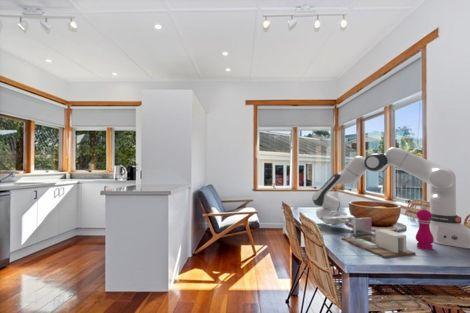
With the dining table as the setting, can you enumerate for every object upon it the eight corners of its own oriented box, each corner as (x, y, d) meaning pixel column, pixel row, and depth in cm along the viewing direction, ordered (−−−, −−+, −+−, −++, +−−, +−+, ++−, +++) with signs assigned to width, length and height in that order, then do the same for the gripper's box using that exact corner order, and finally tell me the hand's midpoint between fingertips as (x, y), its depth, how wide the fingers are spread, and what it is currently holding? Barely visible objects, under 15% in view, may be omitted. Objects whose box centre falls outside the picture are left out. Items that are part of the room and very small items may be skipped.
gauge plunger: (347, 237, 144) (347, 218, 144) (369, 235, 147) (369, 217, 147) (374, 248, 125) (373, 227, 125) (399, 246, 128) (398, 225, 128)
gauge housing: (375, 245, 132) (375, 229, 132) (386, 244, 133) (385, 229, 133) (395, 252, 120) (395, 236, 120) (406, 251, 121) (406, 235, 122)
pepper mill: (412, 245, 134) (411, 205, 134) (425, 245, 134) (424, 205, 135) (423, 250, 127) (422, 208, 127) (437, 250, 127) (436, 207, 128)
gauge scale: (351, 240, 140) (351, 237, 140) (356, 239, 141) (356, 236, 141) (371, 248, 126) (371, 245, 127) (376, 247, 127) (376, 244, 127)
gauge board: (341, 239, 145) (341, 237, 146) (368, 237, 149) (368, 235, 149) (383, 258, 116) (383, 255, 116) (415, 255, 120) (415, 252, 120)
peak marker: (353, 237, 139) (353, 233, 139) (358, 237, 139) (358, 233, 139) (355, 237, 138) (355, 234, 138) (360, 237, 138) (360, 234, 138)
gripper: (318, 213, 170) (331, 217, 156) (346, 212, 174) (361, 216, 161) (318, 223, 170) (331, 228, 156) (347, 221, 174) (361, 226, 161)
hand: (346, 222), depth 159 cm, fingers closed
